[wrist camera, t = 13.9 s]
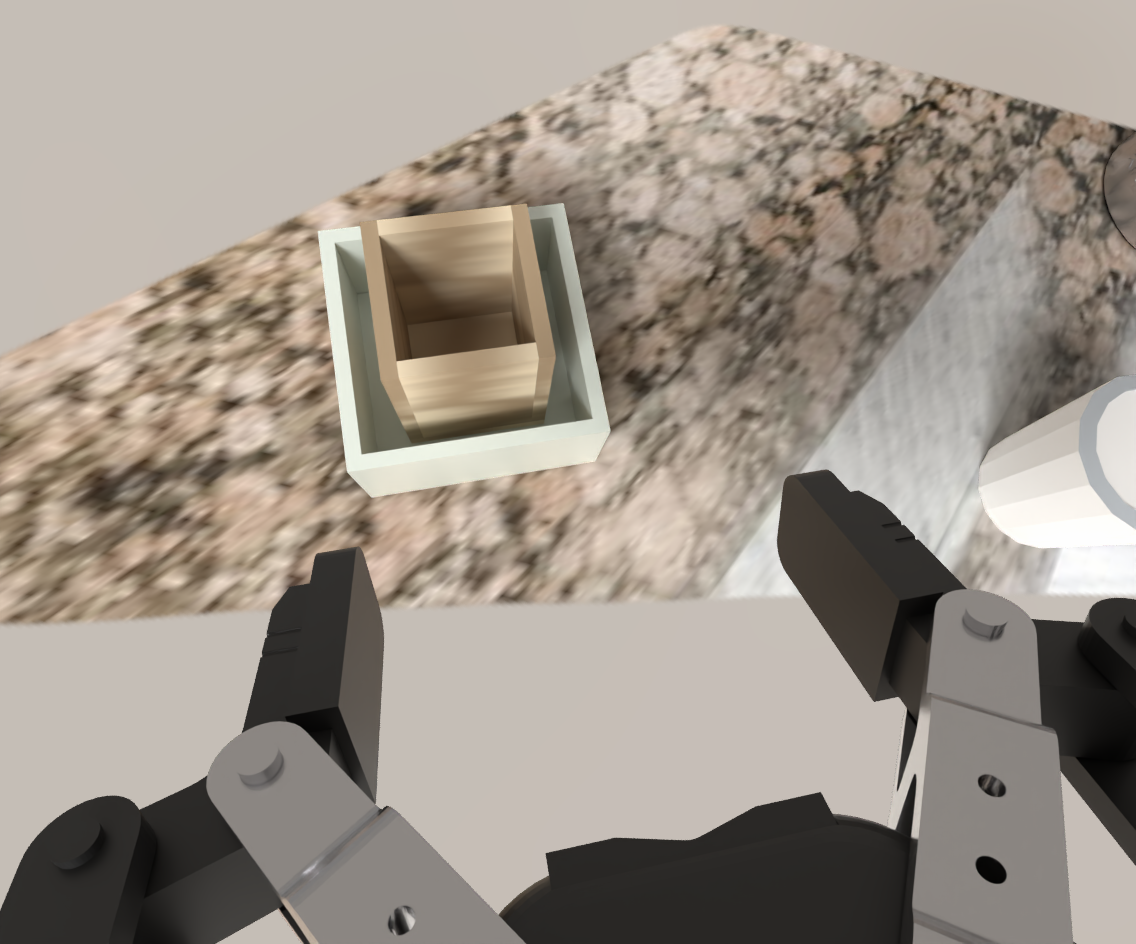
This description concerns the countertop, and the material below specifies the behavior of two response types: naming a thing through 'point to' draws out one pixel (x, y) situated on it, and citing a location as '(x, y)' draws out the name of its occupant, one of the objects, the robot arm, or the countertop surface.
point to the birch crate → (460, 320)
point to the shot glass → (1068, 473)
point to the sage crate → (401, 466)
